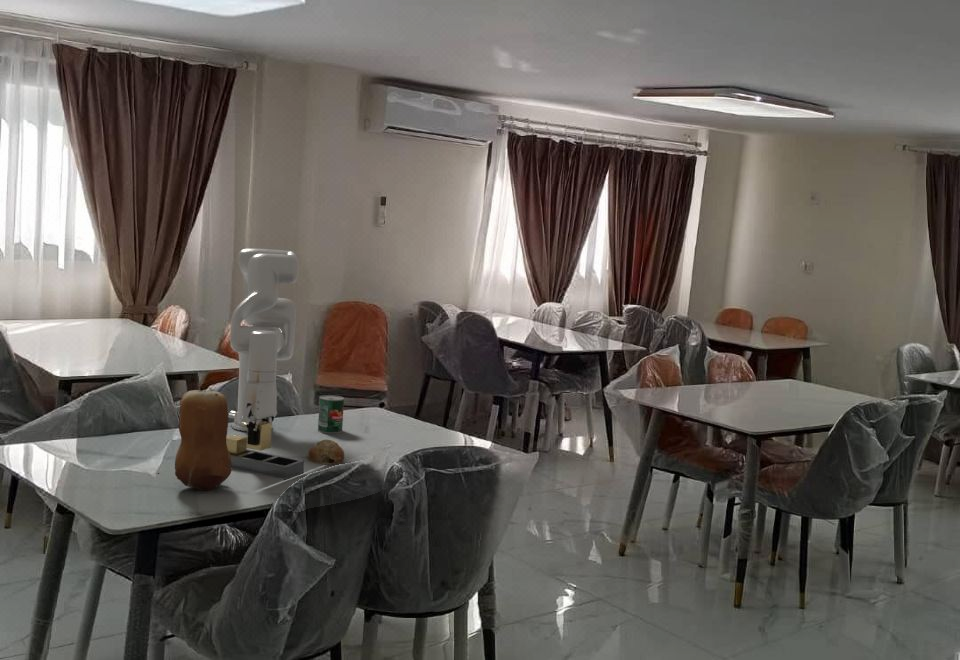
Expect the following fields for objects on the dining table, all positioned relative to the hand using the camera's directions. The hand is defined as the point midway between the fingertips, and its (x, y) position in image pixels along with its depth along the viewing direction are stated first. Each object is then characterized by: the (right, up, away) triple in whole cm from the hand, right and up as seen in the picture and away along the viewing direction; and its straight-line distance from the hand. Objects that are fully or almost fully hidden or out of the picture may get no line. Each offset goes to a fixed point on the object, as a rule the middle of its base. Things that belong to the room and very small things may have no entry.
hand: (258, 442), depth 266 cm
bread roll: (+16, -7, +15) cm, 23 cm away
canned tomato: (+11, -2, +51) cm, 53 cm away
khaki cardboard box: (-8, -6, +4) cm, 11 cm away
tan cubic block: (0, -2, 0) cm, 2 cm away
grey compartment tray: (-1, -7, +1) cm, 8 cm away
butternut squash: (-10, -10, -20) cm, 24 cm away
